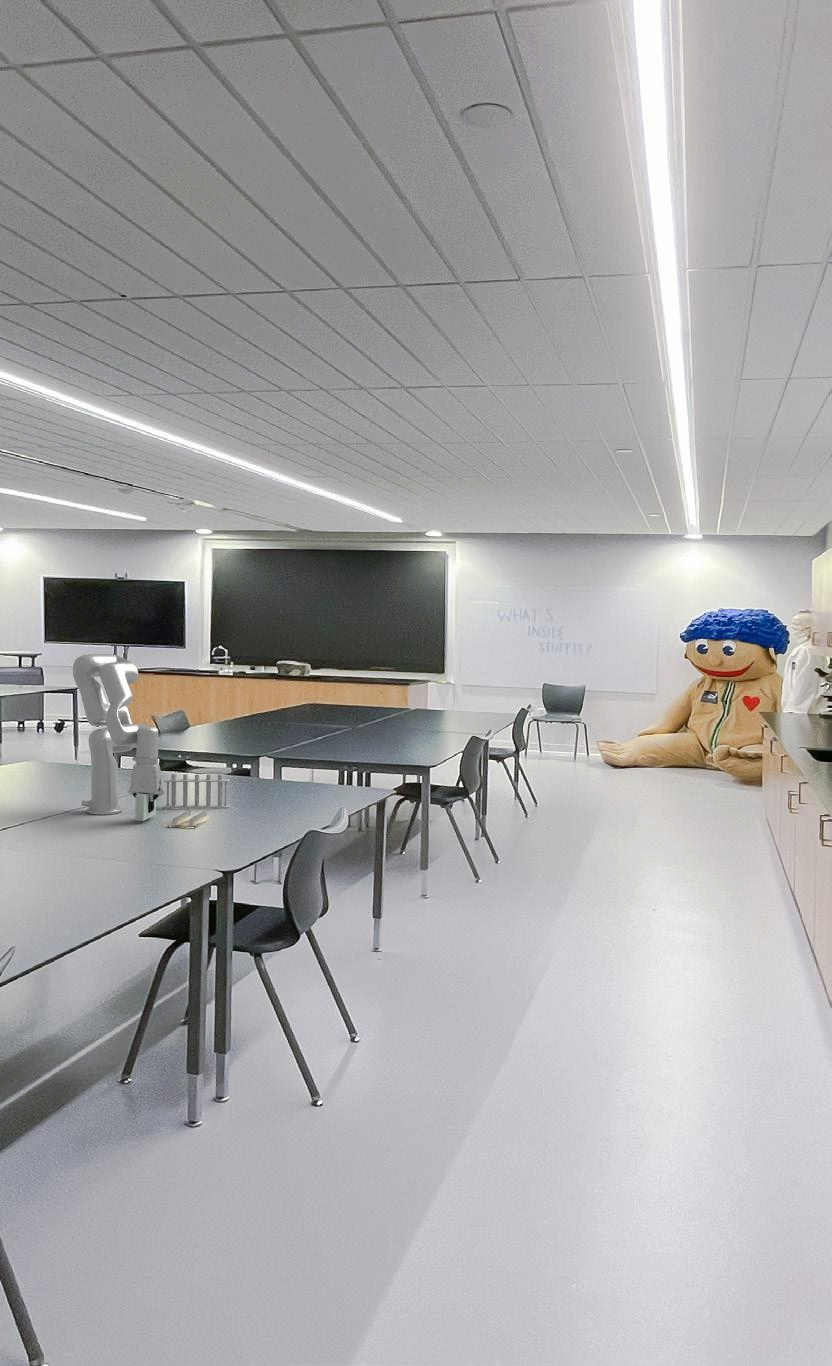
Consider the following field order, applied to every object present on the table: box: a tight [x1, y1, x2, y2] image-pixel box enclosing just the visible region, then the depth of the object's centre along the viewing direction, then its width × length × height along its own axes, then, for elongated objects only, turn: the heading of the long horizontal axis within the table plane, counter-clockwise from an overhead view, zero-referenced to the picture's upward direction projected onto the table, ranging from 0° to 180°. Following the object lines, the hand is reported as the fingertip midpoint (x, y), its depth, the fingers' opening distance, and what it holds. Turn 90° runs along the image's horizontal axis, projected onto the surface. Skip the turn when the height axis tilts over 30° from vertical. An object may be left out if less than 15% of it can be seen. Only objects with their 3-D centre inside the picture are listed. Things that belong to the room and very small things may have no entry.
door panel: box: [134, 792, 157, 822], centre depth 357 cm, size 3×12×9 cm, turn 174°
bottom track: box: [167, 810, 212, 829], centre depth 355 cm, size 10×18×3 cm, turn 174°
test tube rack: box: [162, 773, 231, 809], centre depth 385 cm, size 25×4×13 cm, turn 98°
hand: (145, 811), depth 357 cm, fingers closed on door panel, 3 cm apart
